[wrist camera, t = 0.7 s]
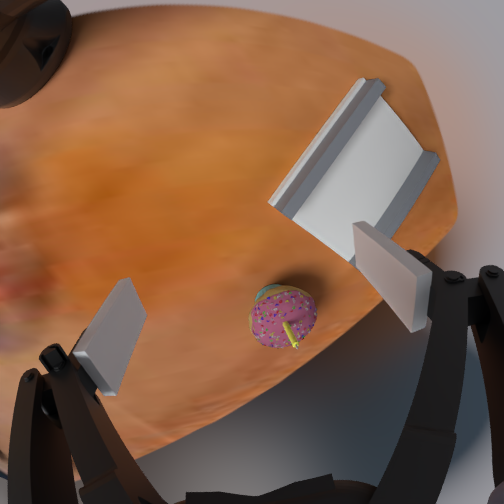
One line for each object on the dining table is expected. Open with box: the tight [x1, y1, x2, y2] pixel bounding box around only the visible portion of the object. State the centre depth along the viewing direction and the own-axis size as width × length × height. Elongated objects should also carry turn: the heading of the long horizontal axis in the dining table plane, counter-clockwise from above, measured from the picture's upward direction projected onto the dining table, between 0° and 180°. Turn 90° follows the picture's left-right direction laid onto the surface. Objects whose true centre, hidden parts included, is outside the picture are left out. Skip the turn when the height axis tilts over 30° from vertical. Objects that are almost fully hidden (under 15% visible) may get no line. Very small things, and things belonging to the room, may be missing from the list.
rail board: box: [268, 78, 440, 271], centre depth 32 cm, size 20×16×4 cm
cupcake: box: [249, 284, 317, 349], centre depth 33 cm, size 9×8×12 cm
